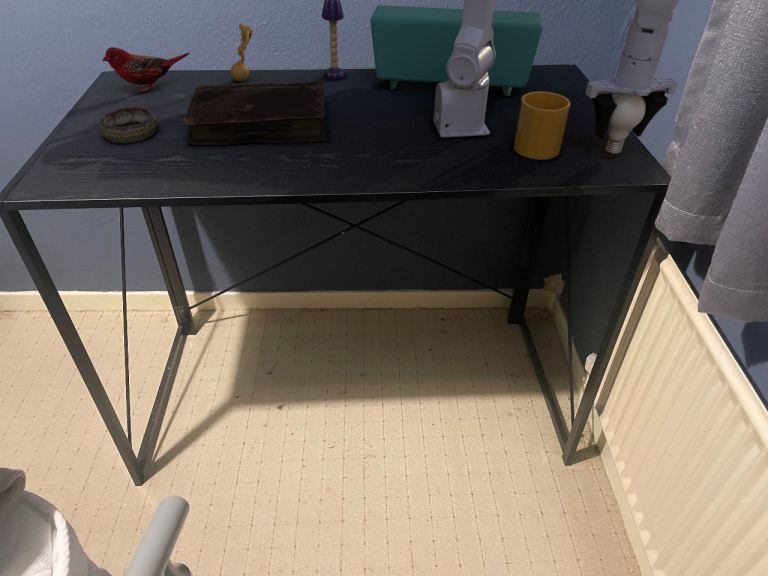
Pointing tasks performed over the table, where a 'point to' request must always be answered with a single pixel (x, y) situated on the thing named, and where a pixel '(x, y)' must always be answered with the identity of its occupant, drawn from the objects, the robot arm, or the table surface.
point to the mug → (541, 125)
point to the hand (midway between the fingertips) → (617, 135)
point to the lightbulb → (624, 120)
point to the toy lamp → (333, 35)
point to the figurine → (242, 55)
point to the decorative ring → (126, 116)
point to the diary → (257, 114)
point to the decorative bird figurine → (139, 66)
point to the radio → (449, 44)
